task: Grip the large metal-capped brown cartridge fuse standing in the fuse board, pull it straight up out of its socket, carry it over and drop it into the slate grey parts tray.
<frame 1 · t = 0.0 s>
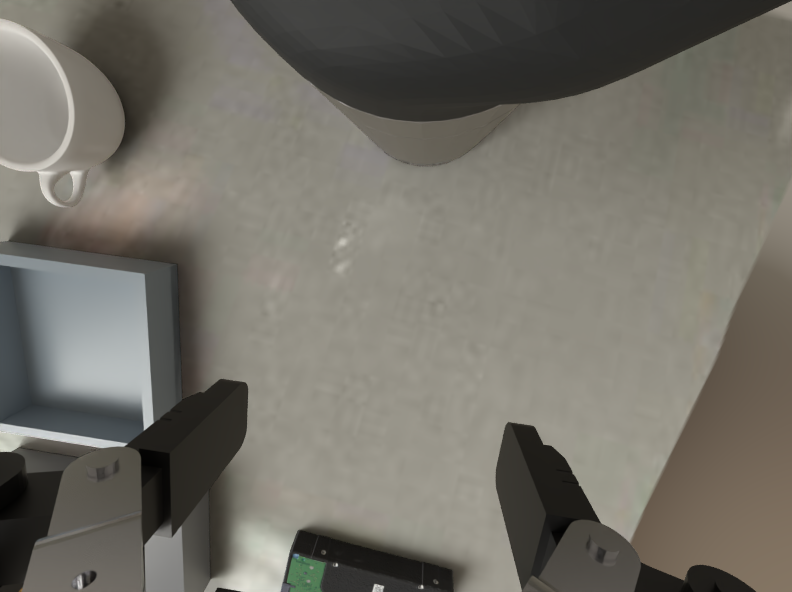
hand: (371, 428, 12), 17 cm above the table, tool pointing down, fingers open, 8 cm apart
teacup: (96, 133, 27), on the table
parts tray: (100, 340, 31), on the table
disk drive: (364, 582, 37), on the table
fuse board: (117, 515, 36), on the table
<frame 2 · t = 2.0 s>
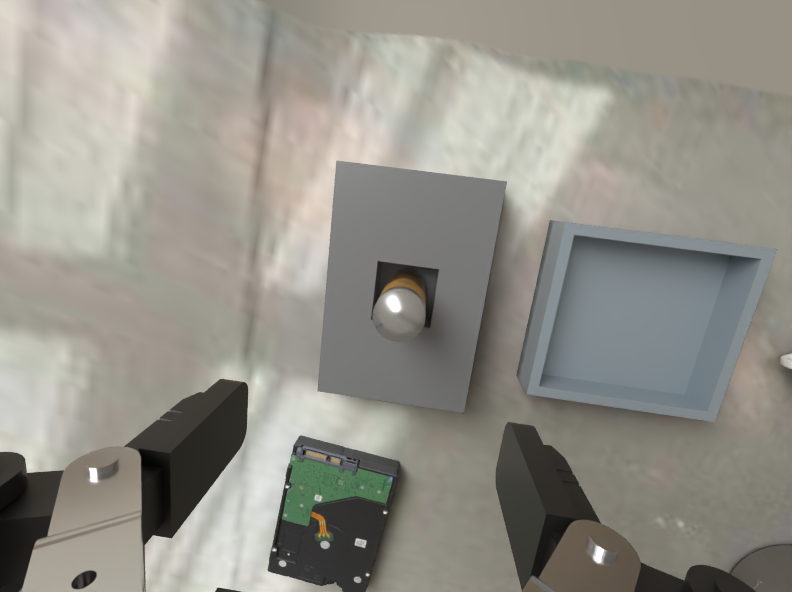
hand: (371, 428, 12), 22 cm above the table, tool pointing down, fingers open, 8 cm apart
parts tray: (620, 313, 32), on the table
disk drive: (336, 504, 39), on the table
fuse: (406, 286, 32), point 1 cm above the table, touching fuse board
fuse board: (406, 284, 33), on the table
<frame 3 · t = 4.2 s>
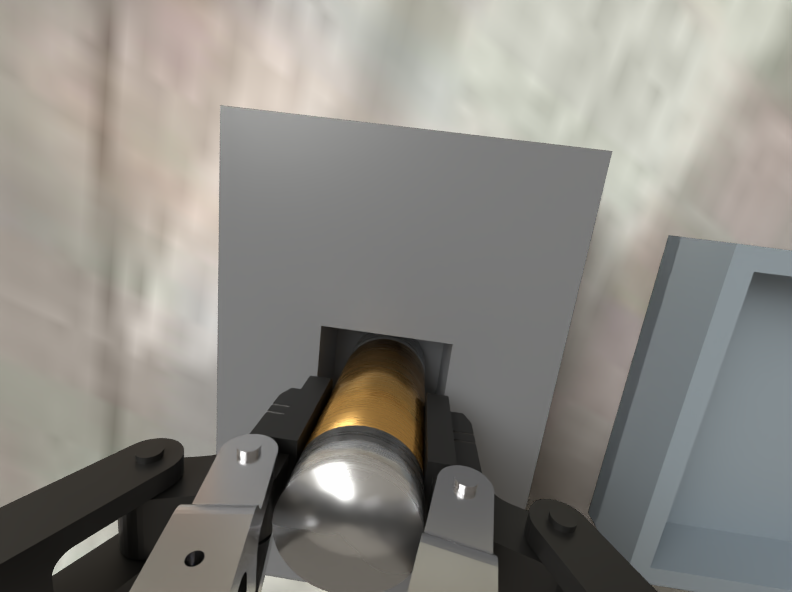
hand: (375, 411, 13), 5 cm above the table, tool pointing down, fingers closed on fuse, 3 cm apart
fuse: (387, 361, 17), point 1 cm above the table, touching fuse board, gripper
fuse board: (389, 353, 18), on the table
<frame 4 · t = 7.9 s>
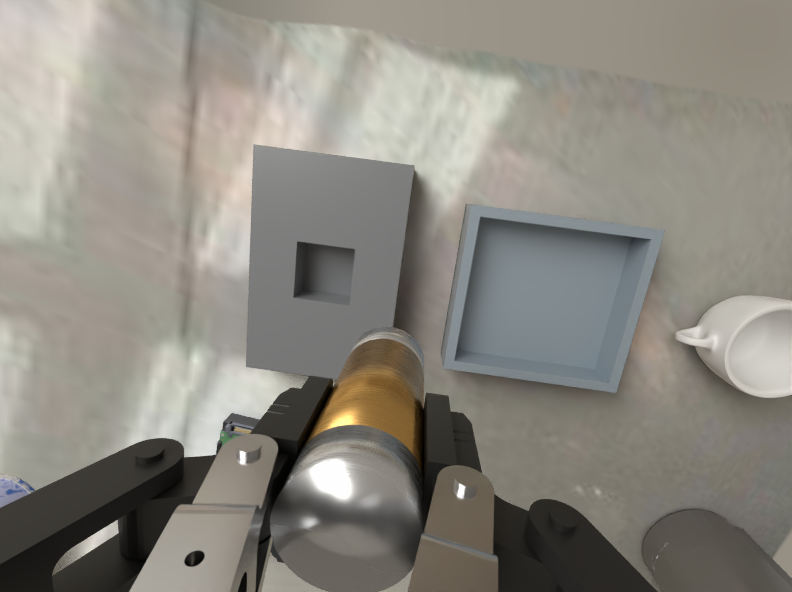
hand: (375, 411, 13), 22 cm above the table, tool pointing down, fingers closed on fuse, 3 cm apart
teacup: (710, 327, 34), on the table
parts tray: (534, 293, 34), on the table
disk drive: (271, 479, 41), on the table
fuse: (387, 361, 17), point 18 cm above the table, touching gripper
aerosol can: (12, 502, 43), on the table
fuse board: (334, 265, 34), on the table
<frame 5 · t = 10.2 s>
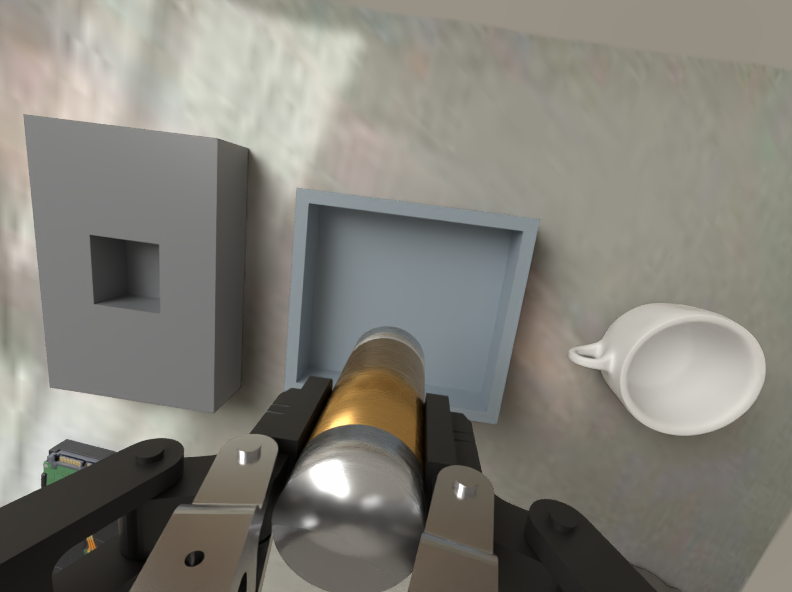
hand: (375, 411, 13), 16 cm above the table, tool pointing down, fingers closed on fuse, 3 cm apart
teacup: (623, 342, 28), on the table
parts tray: (404, 299, 28), on the table
disk drive: (122, 515, 35), on the table
fuse: (387, 361, 17), point 11 cm above the table, touching gripper
fuse board: (166, 265, 29), on the table
when the fingers open (7 cm above the table, at t = 12.0 s): fuse drops 2 cm, resting on parts tray.
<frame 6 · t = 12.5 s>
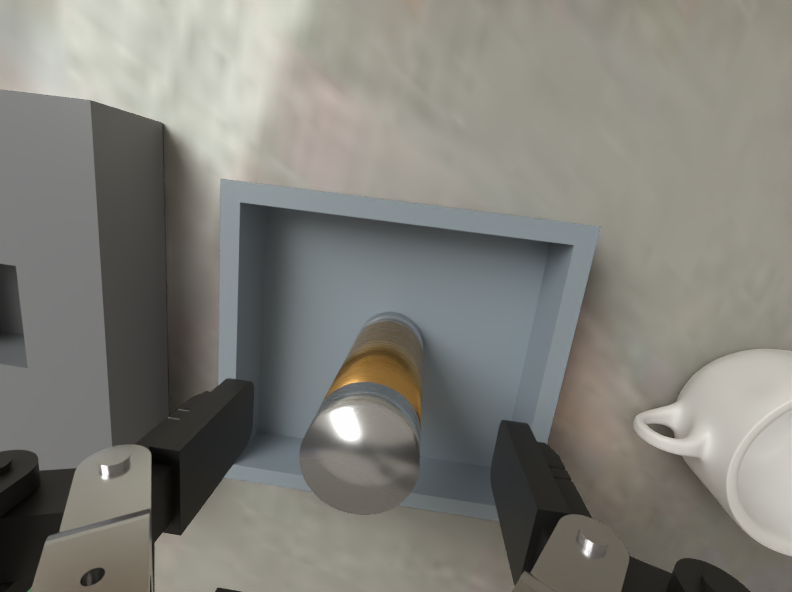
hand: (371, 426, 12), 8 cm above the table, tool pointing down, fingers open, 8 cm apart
teacup: (703, 399, 19), on the table
parts tray: (392, 338, 20), on the table
fuse: (390, 343, 19), point 1 cm above the table, touching parts tray
fuse board: (57, 291, 20), on the table
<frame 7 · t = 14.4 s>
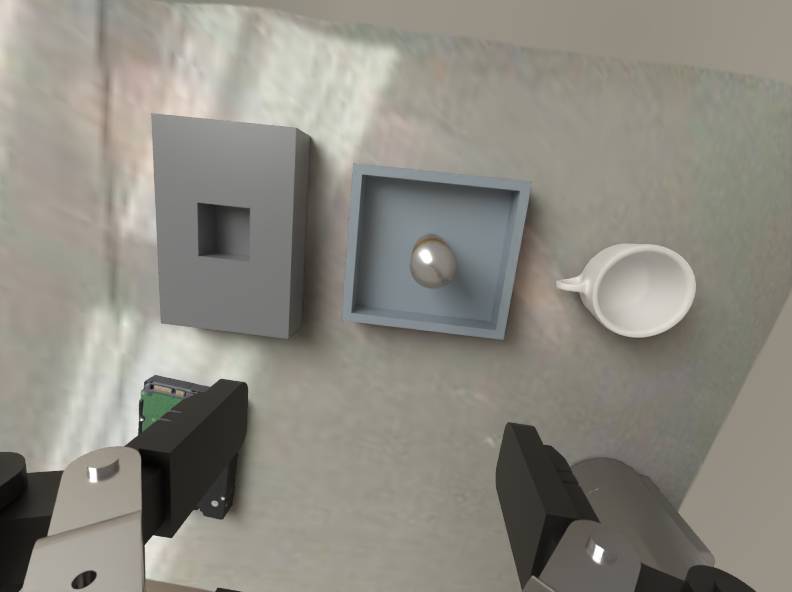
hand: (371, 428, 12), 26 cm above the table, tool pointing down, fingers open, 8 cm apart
teacup: (598, 279, 36), on the table
parts tray: (430, 250, 36), on the table
disk drive: (198, 439, 44), on the table
fuse: (430, 250, 35), point 1 cm above the table, touching parts tray
fuse board: (244, 229, 37), on the table
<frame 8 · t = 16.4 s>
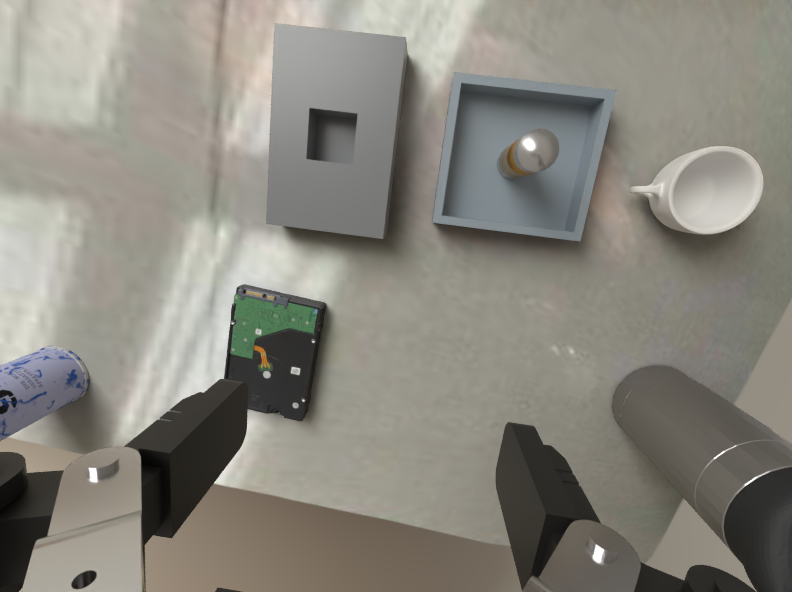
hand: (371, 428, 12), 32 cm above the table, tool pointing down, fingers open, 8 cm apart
teacup: (664, 192, 39), on the table
parts tray: (511, 163, 40), on the table
disk drive: (278, 348, 47), on the table
fuse: (512, 162, 39), point 1 cm above the table, touching parts tray
aerosol can: (61, 373, 50), on the table
fuse board: (340, 143, 40), on the table
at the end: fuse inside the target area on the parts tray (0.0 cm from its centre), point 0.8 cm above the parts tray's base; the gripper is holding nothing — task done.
